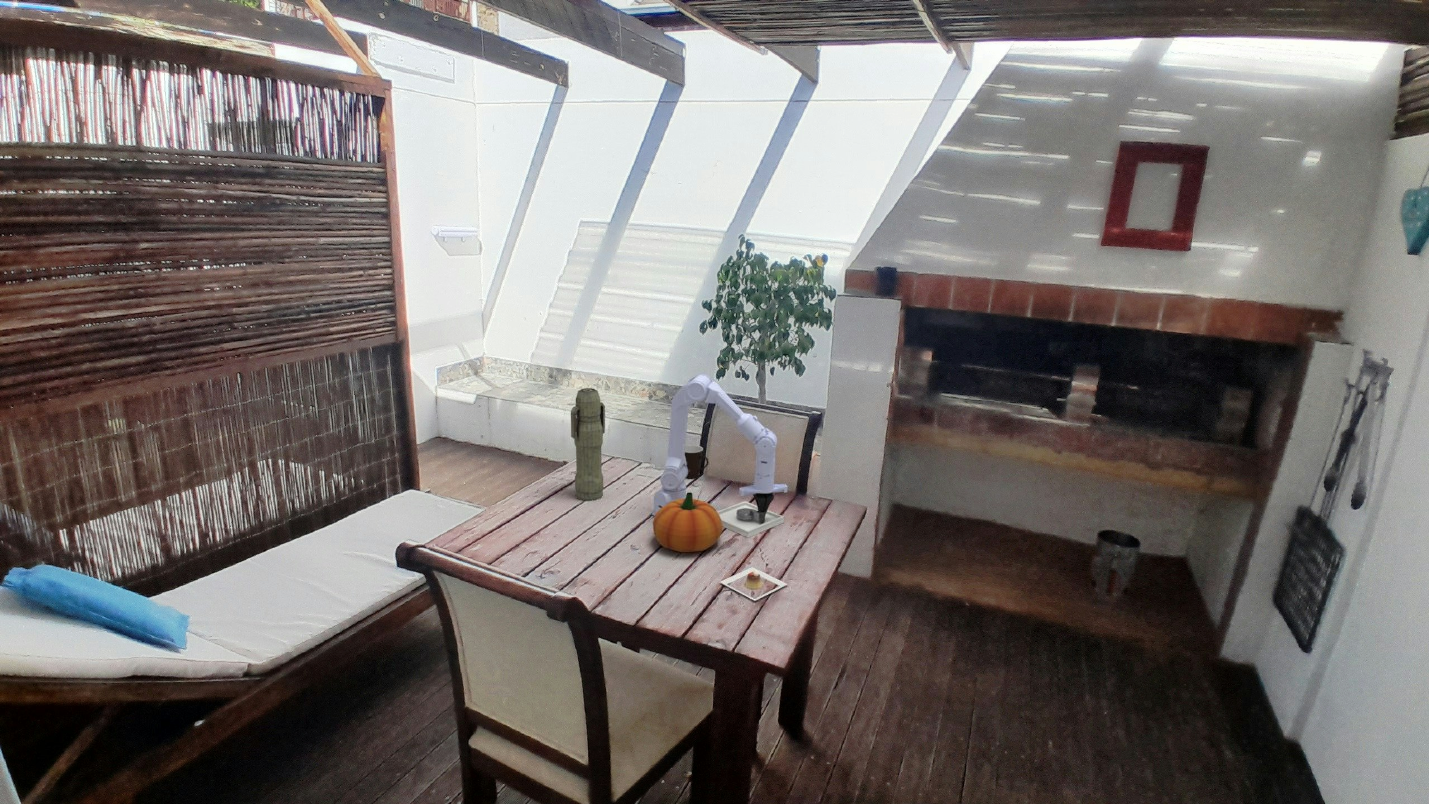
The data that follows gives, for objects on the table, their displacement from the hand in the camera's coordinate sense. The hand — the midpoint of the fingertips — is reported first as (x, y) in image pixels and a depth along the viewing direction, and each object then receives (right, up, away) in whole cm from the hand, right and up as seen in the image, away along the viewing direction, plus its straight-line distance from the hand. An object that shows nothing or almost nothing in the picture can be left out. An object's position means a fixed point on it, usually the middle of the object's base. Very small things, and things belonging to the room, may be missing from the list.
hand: (761, 515), depth 213 cm
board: (-5, -2, +2) cm, 5 cm away
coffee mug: (-22, +7, +37) cm, 44 cm away
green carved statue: (-54, +3, +18) cm, 57 cm away
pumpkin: (-22, -6, -13) cm, 26 cm away
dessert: (-4, -12, -35) cm, 37 cm away
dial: (-3, -1, 0) cm, 3 cm away
